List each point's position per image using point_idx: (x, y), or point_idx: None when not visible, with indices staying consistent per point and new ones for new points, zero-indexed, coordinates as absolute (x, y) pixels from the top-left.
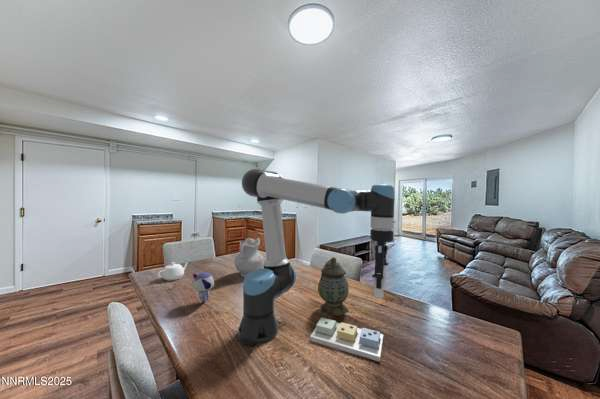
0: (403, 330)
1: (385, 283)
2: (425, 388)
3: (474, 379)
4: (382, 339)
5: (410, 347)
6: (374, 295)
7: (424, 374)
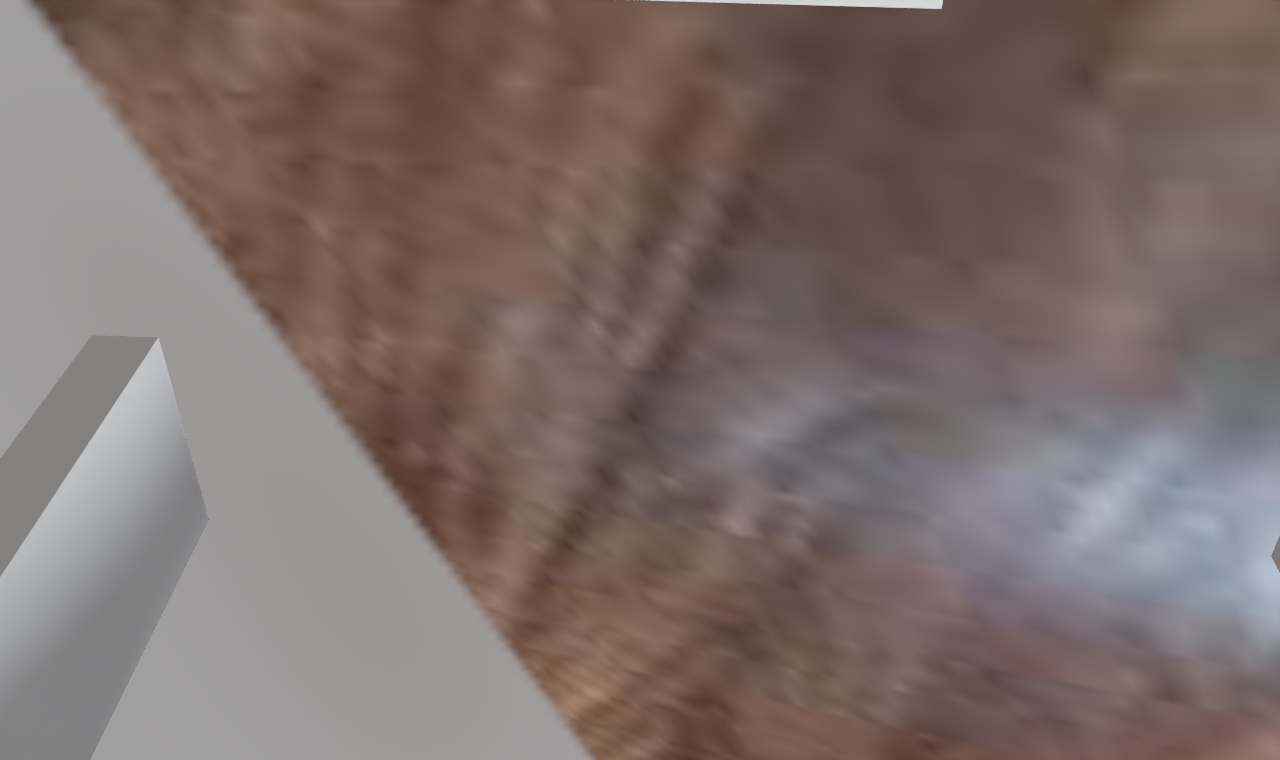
0: (1271, 226)
1: (1277, 565)
2: (340, 349)
3: (643, 650)
4: (801, 3)
5: (901, 280)
6: (71, 371)
7: (514, 360)
